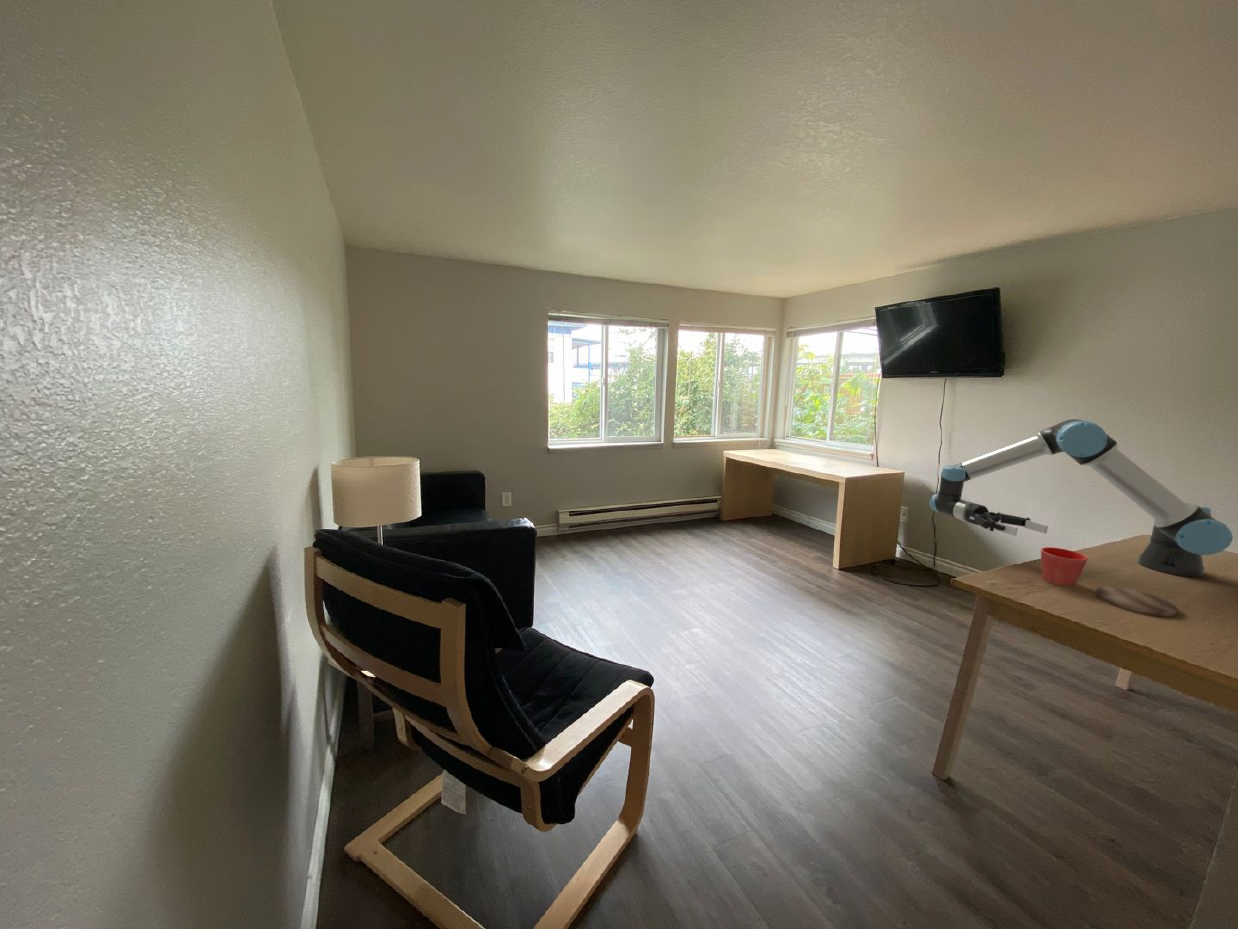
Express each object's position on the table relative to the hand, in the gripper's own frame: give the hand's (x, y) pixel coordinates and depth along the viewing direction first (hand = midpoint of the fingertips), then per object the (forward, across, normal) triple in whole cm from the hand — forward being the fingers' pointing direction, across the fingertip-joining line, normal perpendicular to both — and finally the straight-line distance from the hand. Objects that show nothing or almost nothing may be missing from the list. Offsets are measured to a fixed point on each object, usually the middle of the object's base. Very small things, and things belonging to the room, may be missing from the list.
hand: (1031, 530), depth 160 cm
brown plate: (+26, -6, -14) cm, 30 cm away
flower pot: (+10, 0, -14) cm, 17 cm away
